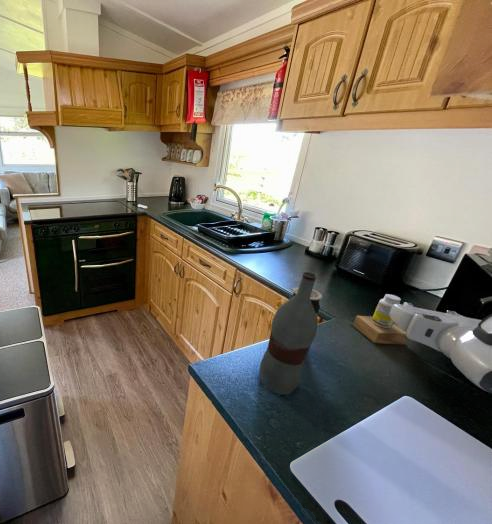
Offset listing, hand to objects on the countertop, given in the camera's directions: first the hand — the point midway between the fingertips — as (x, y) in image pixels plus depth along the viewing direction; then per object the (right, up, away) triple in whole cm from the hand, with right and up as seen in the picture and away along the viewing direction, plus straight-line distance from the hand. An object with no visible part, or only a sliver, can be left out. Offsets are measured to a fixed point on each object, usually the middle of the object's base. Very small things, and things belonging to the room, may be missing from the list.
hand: (427, 309), depth 78 cm
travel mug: (-32, -13, +10) cm, 36 cm away
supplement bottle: (+2, -8, +18) cm, 20 cm away
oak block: (+2, -12, +19) cm, 22 cm away
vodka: (-44, -18, -5) cm, 47 cm away
